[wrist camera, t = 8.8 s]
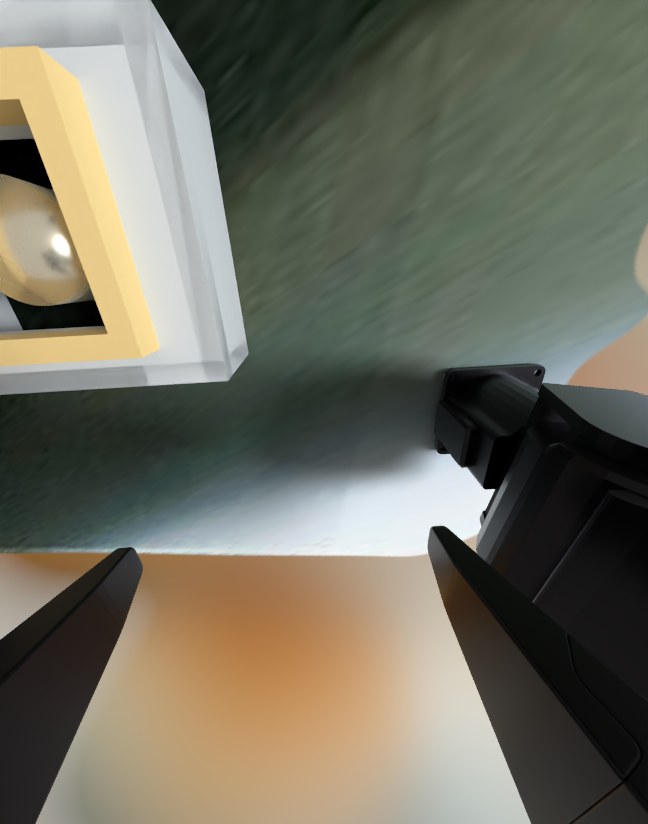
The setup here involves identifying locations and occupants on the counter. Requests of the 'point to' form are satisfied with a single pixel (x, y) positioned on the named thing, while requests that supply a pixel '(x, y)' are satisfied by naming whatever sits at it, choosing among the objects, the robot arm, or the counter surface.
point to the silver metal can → (37, 248)
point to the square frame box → (121, 198)
